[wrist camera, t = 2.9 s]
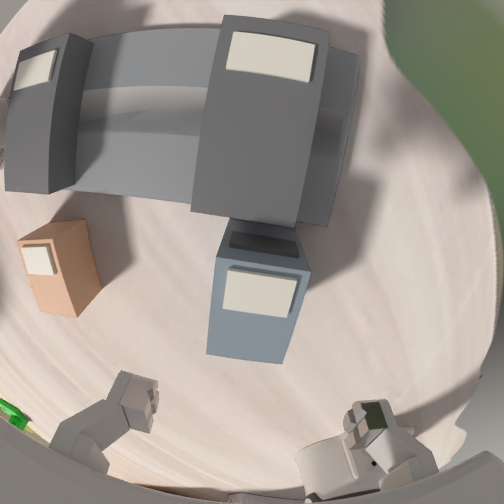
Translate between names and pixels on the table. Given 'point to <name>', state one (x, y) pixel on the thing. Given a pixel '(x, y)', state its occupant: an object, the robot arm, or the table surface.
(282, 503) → the game console
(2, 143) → the supplement can
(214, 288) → the module
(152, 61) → the rail base
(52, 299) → the block
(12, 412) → the mechanical part
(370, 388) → the table surface
